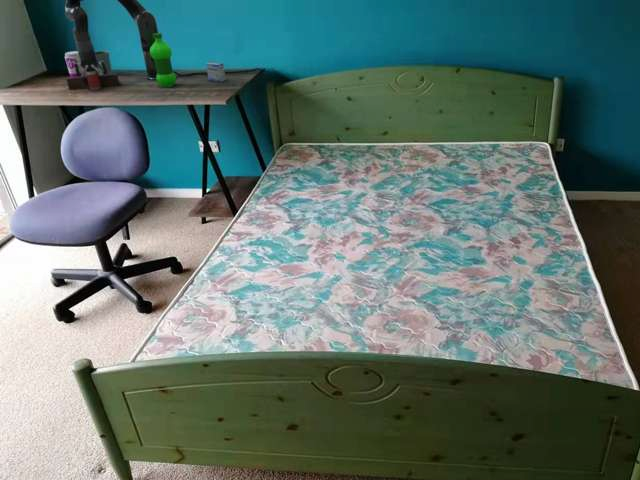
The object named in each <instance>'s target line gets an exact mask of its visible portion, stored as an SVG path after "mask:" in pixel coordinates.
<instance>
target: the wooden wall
mask: <svg viewBox="0 0 640 480" xmlns="http://www.w3.org/2000/svg"><path fill="white" fill-rule="evenodd" d="M104 76H105V83H103V82H102V78H101V75H99V79H100V83H101V87H102V88H105V87H115V86H116V87H117V86H120V83H121V82H120V80H119V77H118V73H117V72H116V73H112V74H105V75H104ZM85 78H86V82H87V85H85V84H84V83H83V81H82V77H72V78H71V77H66V78H65V79H66V82H67V86H68V89H69V91H72V90H83V89H90V87H89V84H88V80H87V77H86V76H85Z"/></svg>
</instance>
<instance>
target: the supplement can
mask: <svg viewBox="0 0 640 480" xmlns="http://www.w3.org/2000/svg"><path fill="white" fill-rule="evenodd" d="M64 60H65V63H66V67H67V71H68V73H69V78H72V77H80V76H77V74H76V69H75V63H81V61H80V57H79V54H78V50H73V51H67V52H65V53H64ZM83 70H84V68H83V67H82V66H80V68H79V72H80V73H81V74H82V72H83ZM84 76H86V73H85V75H84Z"/></svg>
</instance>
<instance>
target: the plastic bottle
mask: <svg viewBox="0 0 640 480" xmlns="http://www.w3.org/2000/svg"><path fill="white" fill-rule="evenodd" d="M153 38H154V39H155V42H154V43H153V45H152V46H151V47H150V55H151V57H152V58H153V59H154V61H155V66H156V70H157V77H156V80H155V81H156V82H157V84H158V85H160V86H161V87H163V88H171V87H173V86H174V84H176V81H177V76H176V75H177V74H176V73H174V72H173V71H174V70H173V65H172V60H171V57H172V48H171V46H170V45H169V44H167V42H165V41H163V40H162V38H163V36H162V33H161V32H158V33H154V34H153Z"/></svg>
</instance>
